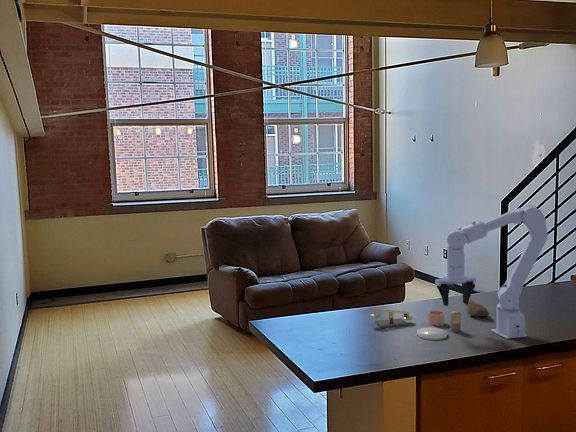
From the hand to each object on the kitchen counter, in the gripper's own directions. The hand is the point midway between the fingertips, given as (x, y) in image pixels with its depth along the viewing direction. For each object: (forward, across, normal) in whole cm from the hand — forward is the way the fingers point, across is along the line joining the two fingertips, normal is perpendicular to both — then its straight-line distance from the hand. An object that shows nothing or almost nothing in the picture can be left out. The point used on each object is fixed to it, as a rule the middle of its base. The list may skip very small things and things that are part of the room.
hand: (455, 304), depth 203 cm
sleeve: (+9, +2, -10) cm, 14 cm away
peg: (+9, 0, 0) cm, 9 cm away
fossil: (+10, -17, -14) cm, 24 cm away
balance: (+9, +18, -14) cm, 25 cm away
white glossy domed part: (+9, +10, +2) cm, 14 cm away
